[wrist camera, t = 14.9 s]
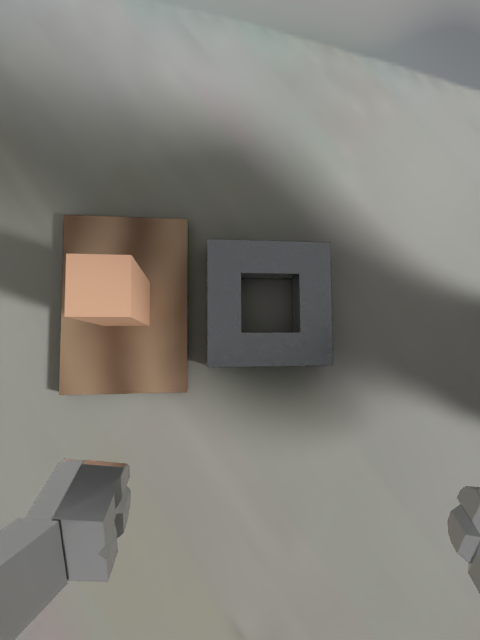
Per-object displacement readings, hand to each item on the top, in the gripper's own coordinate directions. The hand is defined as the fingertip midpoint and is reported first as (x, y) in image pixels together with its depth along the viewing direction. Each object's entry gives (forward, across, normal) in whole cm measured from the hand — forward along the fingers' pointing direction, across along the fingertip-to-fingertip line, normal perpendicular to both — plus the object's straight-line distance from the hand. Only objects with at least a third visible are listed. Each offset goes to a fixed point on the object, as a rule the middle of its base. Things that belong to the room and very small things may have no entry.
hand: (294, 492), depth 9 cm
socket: (+27, -2, +5) cm, 27 cm away
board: (+25, +11, +6) cm, 28 cm away
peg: (+24, +11, +5) cm, 27 cm away
